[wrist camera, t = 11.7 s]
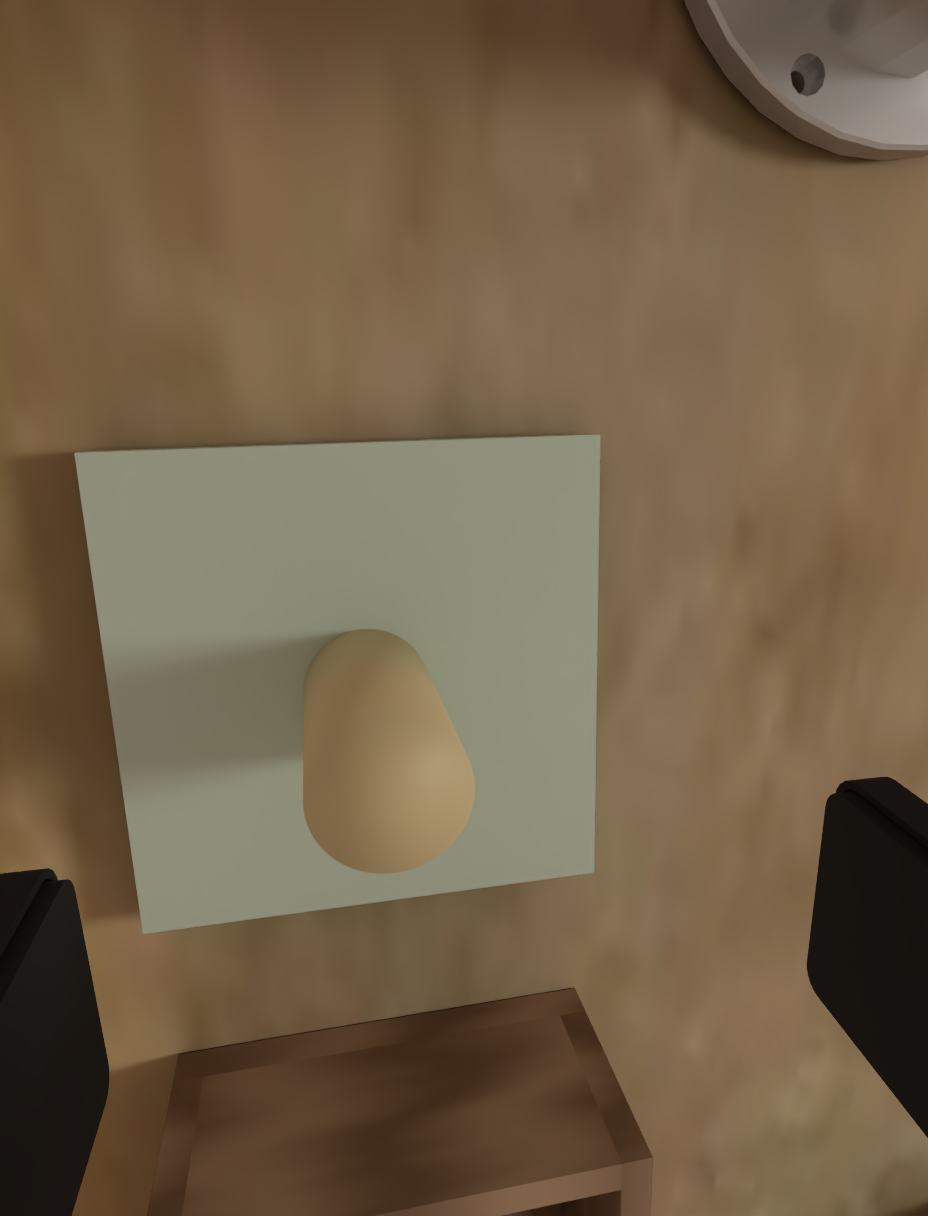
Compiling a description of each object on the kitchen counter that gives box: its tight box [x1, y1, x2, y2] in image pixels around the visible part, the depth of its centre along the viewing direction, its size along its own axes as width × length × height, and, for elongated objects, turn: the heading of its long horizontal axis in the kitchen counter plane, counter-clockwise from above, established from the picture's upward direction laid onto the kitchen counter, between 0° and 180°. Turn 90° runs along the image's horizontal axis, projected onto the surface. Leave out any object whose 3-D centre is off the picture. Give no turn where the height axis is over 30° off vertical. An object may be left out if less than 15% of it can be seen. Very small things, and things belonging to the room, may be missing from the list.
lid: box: [74, 434, 600, 934], centre depth 18 cm, size 12×12×7 cm
